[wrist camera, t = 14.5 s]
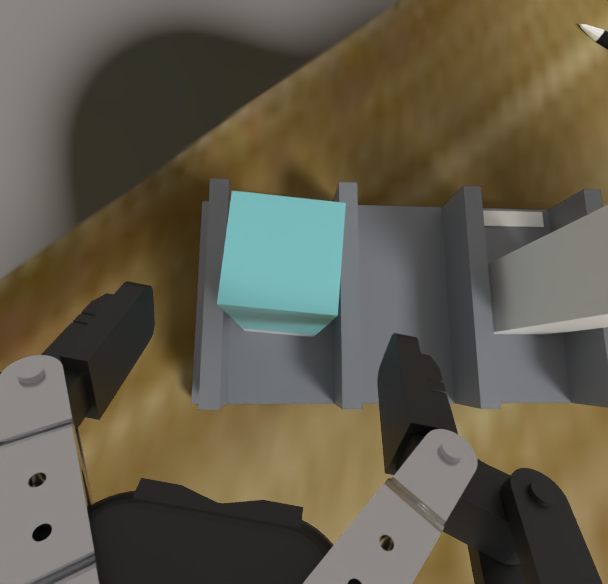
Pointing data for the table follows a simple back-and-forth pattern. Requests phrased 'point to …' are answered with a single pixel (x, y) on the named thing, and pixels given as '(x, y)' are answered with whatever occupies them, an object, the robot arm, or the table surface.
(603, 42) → the pen
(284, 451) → the table surface
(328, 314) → the teal plug
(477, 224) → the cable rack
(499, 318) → the white rectangular block
